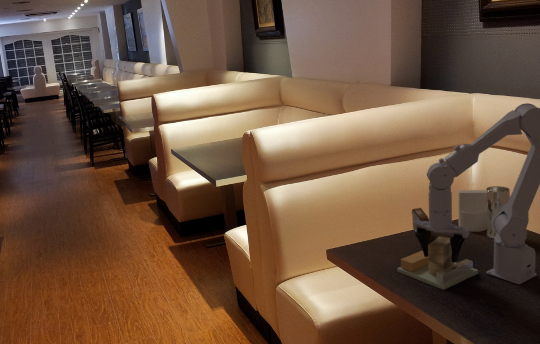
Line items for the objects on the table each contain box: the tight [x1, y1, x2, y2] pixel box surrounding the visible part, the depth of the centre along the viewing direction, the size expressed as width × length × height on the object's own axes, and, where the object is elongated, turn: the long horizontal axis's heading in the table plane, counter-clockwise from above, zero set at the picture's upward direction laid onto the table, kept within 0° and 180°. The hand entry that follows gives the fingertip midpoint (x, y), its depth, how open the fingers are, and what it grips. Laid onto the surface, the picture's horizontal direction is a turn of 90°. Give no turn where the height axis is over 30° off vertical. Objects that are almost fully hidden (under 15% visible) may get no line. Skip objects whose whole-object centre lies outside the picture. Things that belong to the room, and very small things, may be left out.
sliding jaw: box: [400, 249, 428, 272], centre depth 152 cm, size 4×12×2 cm, turn 125°
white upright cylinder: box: [457, 189, 488, 233], centre depth 178 cm, size 9×9×12 cm
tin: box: [411, 207, 432, 242], centre depth 174 cm, size 15×3×8 cm, turn 179°
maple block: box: [428, 235, 454, 275], centre depth 146 cm, size 4×7×8 cm, turn 140°
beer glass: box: [485, 185, 511, 240], centre depth 169 cm, size 7×7×15 cm
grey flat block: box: [396, 258, 479, 291], centre depth 148 cm, size 16×14×4 cm
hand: (440, 258), depth 146 cm, fingers open, 7 cm apart
